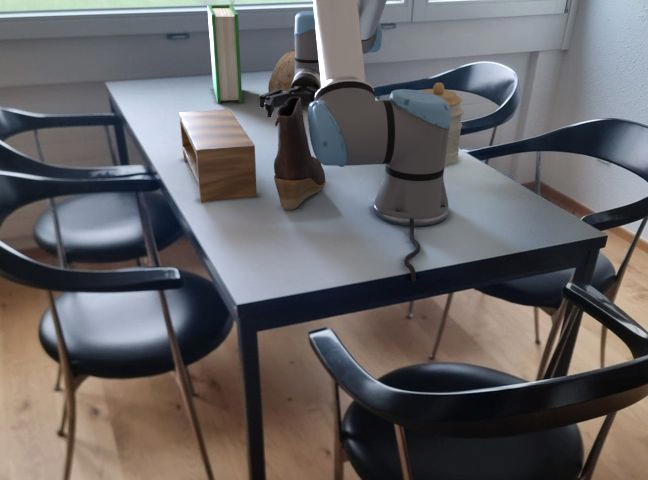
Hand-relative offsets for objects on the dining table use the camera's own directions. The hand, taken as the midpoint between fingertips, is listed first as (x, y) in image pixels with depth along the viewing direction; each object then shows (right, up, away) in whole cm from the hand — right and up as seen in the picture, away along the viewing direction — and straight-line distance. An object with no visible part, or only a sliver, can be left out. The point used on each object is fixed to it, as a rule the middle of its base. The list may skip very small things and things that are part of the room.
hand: (299, 112), depth 156 cm
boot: (+1, -20, -5) cm, 21 cm away
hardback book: (-25, +28, +59) cm, 70 cm away
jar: (+32, -6, +14) cm, 36 cm away
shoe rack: (-19, -14, +1) cm, 23 cm away
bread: (+2, +25, +56) cm, 61 cm away
